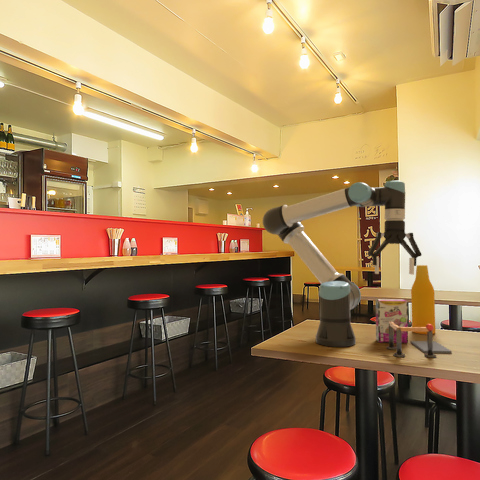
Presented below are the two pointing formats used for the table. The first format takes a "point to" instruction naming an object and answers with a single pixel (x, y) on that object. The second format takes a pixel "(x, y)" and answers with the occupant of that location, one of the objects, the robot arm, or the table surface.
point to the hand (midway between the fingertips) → (394, 274)
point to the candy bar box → (391, 318)
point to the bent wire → (399, 341)
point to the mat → (436, 347)
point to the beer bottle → (422, 300)
